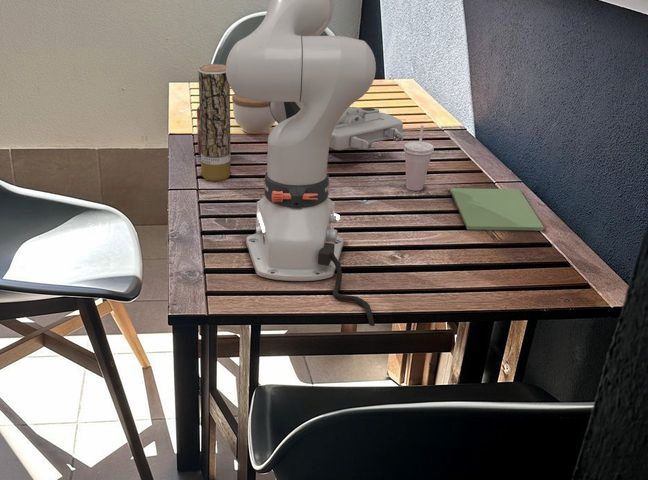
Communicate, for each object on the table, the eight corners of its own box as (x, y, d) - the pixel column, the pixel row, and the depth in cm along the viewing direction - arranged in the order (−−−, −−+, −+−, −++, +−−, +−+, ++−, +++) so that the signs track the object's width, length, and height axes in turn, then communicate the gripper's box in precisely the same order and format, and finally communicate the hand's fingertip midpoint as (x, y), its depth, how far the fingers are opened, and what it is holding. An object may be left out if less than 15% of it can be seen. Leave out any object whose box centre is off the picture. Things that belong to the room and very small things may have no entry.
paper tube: (227, 183, 185) (226, 72, 172) (198, 181, 186) (195, 71, 173) (233, 172, 191) (232, 64, 178) (205, 170, 192) (202, 63, 179)
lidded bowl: (254, 140, 210) (254, 97, 205) (222, 129, 218) (222, 88, 213) (288, 129, 217) (290, 88, 212) (256, 119, 226) (257, 79, 220)
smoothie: (433, 185, 182) (440, 124, 175) (422, 195, 178) (430, 133, 170) (406, 180, 185) (412, 120, 178) (395, 189, 181) (401, 128, 173)
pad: (543, 230, 161) (544, 227, 161) (466, 229, 162) (467, 225, 162) (519, 192, 178) (519, 189, 178) (449, 191, 179) (450, 188, 179)
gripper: (313, 120, 189) (350, 136, 179) (380, 106, 198) (419, 120, 188) (311, 146, 193) (348, 163, 182) (378, 131, 202) (416, 147, 191)
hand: (385, 141), depth 185 cm, fingers open, 8 cm apart
